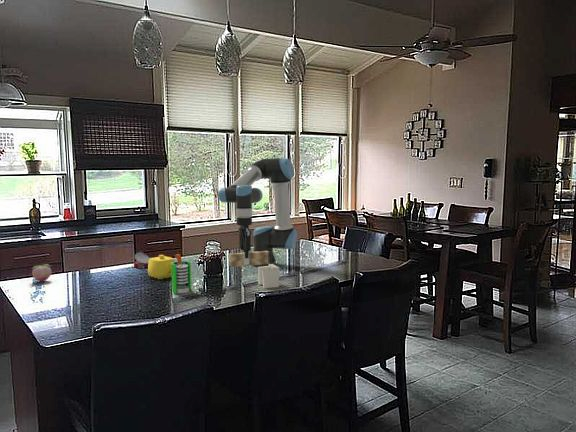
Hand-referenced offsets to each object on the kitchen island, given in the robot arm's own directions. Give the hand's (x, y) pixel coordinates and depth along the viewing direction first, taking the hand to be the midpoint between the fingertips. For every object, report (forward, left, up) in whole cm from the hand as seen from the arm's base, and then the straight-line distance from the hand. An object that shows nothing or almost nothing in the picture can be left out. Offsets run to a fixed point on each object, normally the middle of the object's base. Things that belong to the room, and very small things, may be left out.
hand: (245, 263), depth 237 cm
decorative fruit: (-56, -96, -13) cm, 112 cm away
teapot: (-42, -35, -13) cm, 56 cm away
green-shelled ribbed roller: (-7, -31, -13) cm, 34 cm away
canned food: (-72, -43, -13) cm, 85 cm away
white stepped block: (0, +12, -12) cm, 17 cm away
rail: (0, +2, -1) cm, 2 cm away
